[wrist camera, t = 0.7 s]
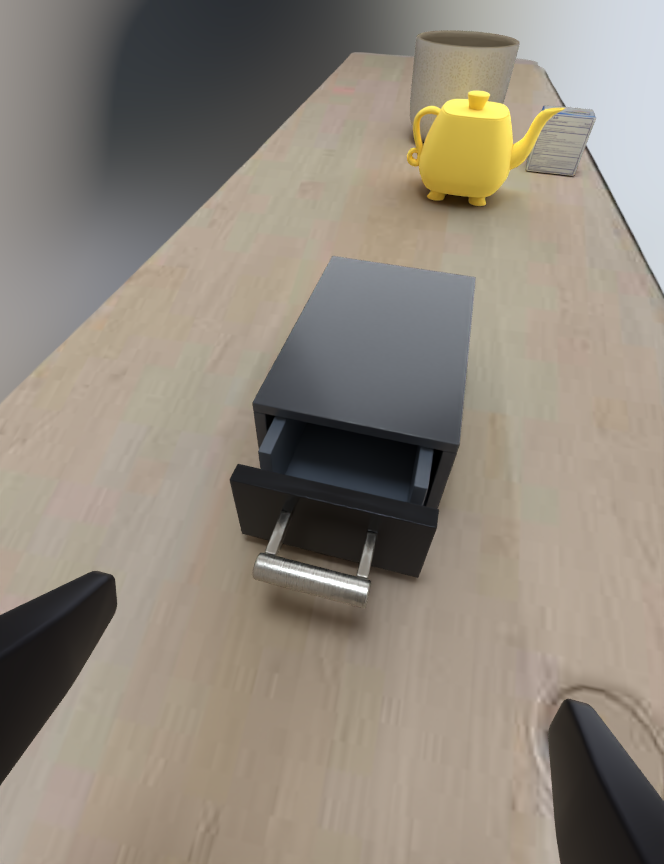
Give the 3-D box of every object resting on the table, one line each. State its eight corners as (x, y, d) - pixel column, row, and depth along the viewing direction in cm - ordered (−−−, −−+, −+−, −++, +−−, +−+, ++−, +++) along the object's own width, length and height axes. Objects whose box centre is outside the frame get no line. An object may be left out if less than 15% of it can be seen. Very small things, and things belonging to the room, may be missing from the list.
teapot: (409, 170, 78) (422, 76, 68) (533, 185, 74) (564, 88, 65) (395, 201, 69) (408, 97, 59) (535, 220, 65) (572, 113, 56)
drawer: (408, 646, 25) (427, 604, 21) (215, 593, 27) (196, 544, 23) (445, 382, 40) (461, 326, 36) (319, 359, 42) (319, 302, 38)
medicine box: (572, 168, 80) (594, 109, 74) (574, 177, 77) (597, 116, 71) (525, 163, 82) (543, 104, 75) (525, 171, 79) (543, 111, 72)
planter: (392, 147, 86) (403, 40, 74) (418, 123, 96) (432, 27, 85) (483, 162, 81) (510, 51, 70) (501, 136, 92) (526, 36, 81)
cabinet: (434, 517, 32) (459, 445, 26) (262, 477, 34) (251, 402, 28) (456, 349, 45) (476, 276, 39) (330, 327, 47) (332, 255, 41)
